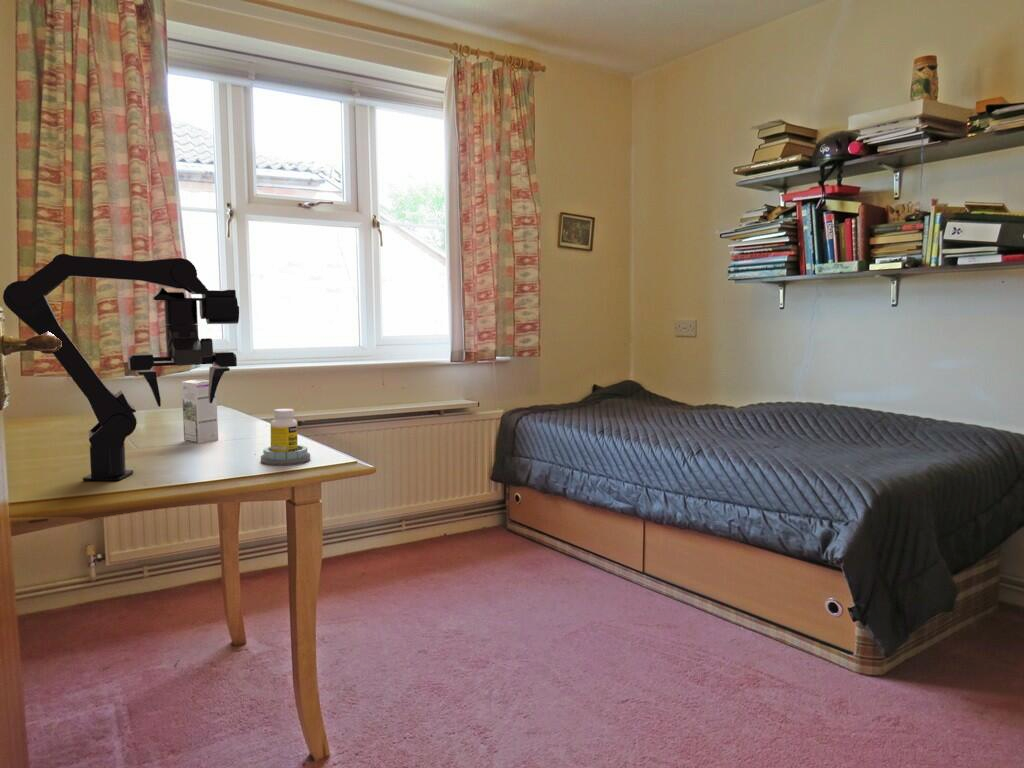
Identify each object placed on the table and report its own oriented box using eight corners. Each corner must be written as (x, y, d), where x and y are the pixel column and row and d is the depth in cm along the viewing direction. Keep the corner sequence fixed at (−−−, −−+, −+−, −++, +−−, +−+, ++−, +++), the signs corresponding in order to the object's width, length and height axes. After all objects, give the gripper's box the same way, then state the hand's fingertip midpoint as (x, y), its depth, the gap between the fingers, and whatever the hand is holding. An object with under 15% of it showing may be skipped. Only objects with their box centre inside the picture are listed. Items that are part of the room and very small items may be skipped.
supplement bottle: (291, 458, 148) (290, 411, 147) (266, 457, 148) (265, 411, 147) (301, 453, 153) (301, 408, 152) (277, 452, 154) (276, 407, 153)
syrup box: (219, 440, 172) (217, 380, 170) (197, 444, 167) (195, 382, 165) (204, 437, 175) (203, 378, 173) (182, 441, 170) (180, 380, 168)
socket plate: (304, 465, 146) (304, 453, 146) (254, 465, 146) (254, 453, 145) (314, 455, 156) (314, 444, 156) (267, 455, 156) (267, 444, 155)
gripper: (130, 326, 126) (135, 413, 128) (241, 325, 136) (244, 406, 138) (125, 324, 135) (130, 406, 137) (229, 323, 145) (232, 399, 147)
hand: (185, 404), depth 139 cm, fingers open, 9 cm apart
